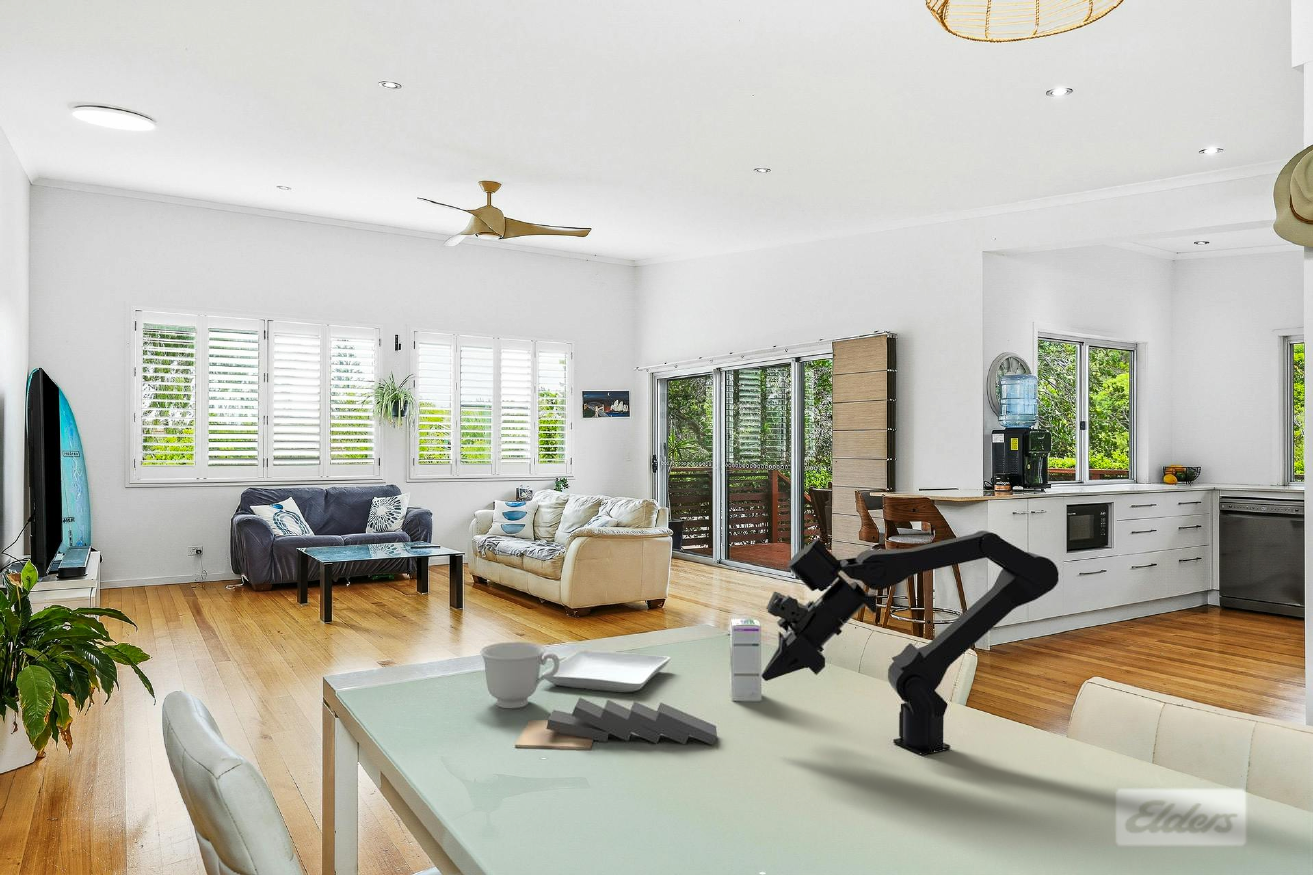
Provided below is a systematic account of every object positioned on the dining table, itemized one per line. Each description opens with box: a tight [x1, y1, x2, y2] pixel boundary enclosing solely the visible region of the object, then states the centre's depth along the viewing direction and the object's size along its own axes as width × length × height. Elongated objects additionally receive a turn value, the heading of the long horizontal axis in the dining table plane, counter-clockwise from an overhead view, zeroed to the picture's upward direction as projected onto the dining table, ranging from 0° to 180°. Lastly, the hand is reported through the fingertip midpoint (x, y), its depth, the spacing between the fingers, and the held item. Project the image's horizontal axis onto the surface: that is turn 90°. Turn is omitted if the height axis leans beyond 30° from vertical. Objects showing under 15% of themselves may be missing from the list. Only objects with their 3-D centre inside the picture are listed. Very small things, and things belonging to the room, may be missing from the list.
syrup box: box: [729, 618, 763, 702], centre depth 162 cm, size 6×6×14 cm
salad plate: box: [541, 650, 671, 693], centre depth 173 cm, size 21×21×3 cm
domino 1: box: [546, 709, 610, 743], centre depth 139 cm, size 2×5×10 cm
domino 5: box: [656, 702, 718, 746], centre depth 138 cm, size 2×5×10 cm
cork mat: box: [514, 719, 595, 750], centre depth 139 cm, size 12×12×1 cm
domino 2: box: [571, 697, 632, 742], centre depth 139 cm, size 2×5×10 cm
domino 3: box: [600, 699, 662, 744], centre depth 139 cm, size 2×5×10 cm
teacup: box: [479, 641, 560, 709], centre depth 156 cm, size 12×15×10 cm
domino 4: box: [628, 701, 690, 745], centre depth 139 cm, size 2×5×10 cm
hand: (763, 678), depth 138 cm, fingers closed
